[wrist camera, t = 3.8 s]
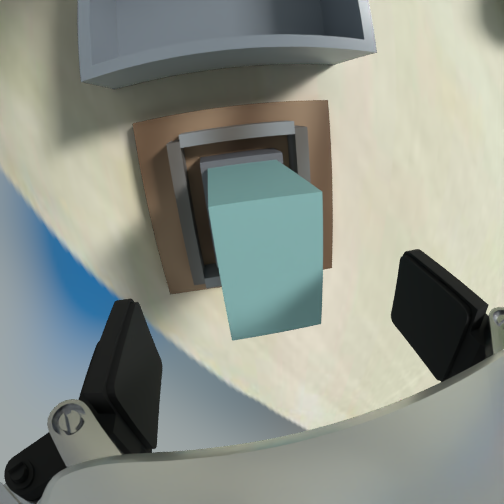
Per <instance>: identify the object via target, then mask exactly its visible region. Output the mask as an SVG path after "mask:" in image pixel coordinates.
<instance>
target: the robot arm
mask: <svg viewBox="0 0 504 504" xmlns="http://www.w3.org/2000/svg"><path fill="white" fill-rule="evenodd" d="M487 308H488V304H487V303H486V302H484V301H483V300H482V299H481V298H480V297H479V296H477V295H476V294H475V293H474V292H473V291H472V290H470V289H469V288H468V287H467V286H466V285H464V284H463V283H462V282H461V281H460V280H458V279H457V278H456V277H455V276H453V275H452V274H451V273H450V272H448V271H447V270H446V269H445V268H443V267H442V266H441V265H439V264H438V263H437V262H435V261H434V260H433V259H432V258H430V257H429V256H428V255H426V254H425V253H424V252H422V251H421V250H419V249H416V250H411V251H406V252H405V253H404V254H403V256H402V257H401V258H400V264H399V271H398V278H397V284H396V290H395V296H394V301H393V307H392V312H391V319H392V322H393V324H394V325H395V326H396V327H397V329H398V330H399V331H400V332H401V334H402V335H403V336H404V337H405V339H406V340H407V341H408V342H409V344H410V345H411V346H412V348H413V349H414V350H415V351H416V353H417V354H418V355H419V357H420V358H421V359H422V361H423V362H424V363H425V365H426V366H427V367H428V369H429V370H430V371H431V373H432V374H433V375H434V377H435V378H436V379H437V380H440V381H441V383H439V384H437V385H435V386H433V387H430V388H428V389H426V390H424V391H422V392H419V393H417V394H415V395H412V396H410V397H408V398H405V399H403V400H400V401H398V402H395V403H393V404H390V405H388V406H385V407H382V408H380V409H377V410H374V411H371V412H368V413H365V414H363V415H360V416H357V417H353V418H350V419H347V420H344V421H341V422H337V423H334V424H331V425H327V426H323V427H320V428H316V429H312V430H308V431H304V432H300V433H296V434H292V435H288V436H283V437H278V438H273V439H268V440H262V441H257V442H252V443H245V444H239V445H232V446H224V447H215V448H207V449H198V450H187V451H173V452H156V453H152V449H155V448H156V446H157V432H158V415H159V401H160V389H161V378H162V362H161V358H160V356H159V354H158V352H157V349H156V347H155V344H154V341H153V339H152V336H151V334H150V331H149V329H148V326H147V323H146V321H145V318H144V315H143V312H142V310H141V307H140V305H139V303H138V302H135V303H134V301H133V300H132V299H125V300H117V301H115V303H114V305H113V308H112V310H111V313H110V315H109V318H108V320H107V323H106V326H105V329H104V331H103V334H102V336H101V339H100V341H99V342H98V343H97V345H96V348H95V351H94V354H93V356H92V359H91V362H90V365H89V368H88V371H87V375H86V377H85V381H84V384H83V387H82V390H81V393H80V397H79V400H75V399H71V400H66V401H63V402H61V403H59V404H58V405H57V406H56V407H54V409H53V410H52V411H51V412H50V415H49V417H48V423H47V425H48V429H49V433H47V434H46V435H44V436H43V437H42V438H40V439H39V440H37V441H36V442H34V443H33V444H31V445H30V446H29V447H27V448H26V449H24V450H23V451H21V452H20V453H18V454H17V455H16V456H14V457H13V458H12V459H11V460H10V461H9V462H8V464H7V465H6V468H5V481H6V483H5V484H2V483H0V504H504V308H503V307H497V308H494V309H492V310H491V311H490V313H489V316H488V315H487V314H486V310H487Z"/></svg>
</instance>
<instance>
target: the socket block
mask: <svg viewBox="0 0 504 504" xmlns="http://www.w3.org/2000/svg"><path fill="white" fill-rule="evenodd" d="M133 130H134V136H135V142H136V148H137V154H138V159H139V165H140V170H141V175H142V180H143V185H144V190H145V195H146V200H147V204H148V209H149V213H150V218H151V222H152V226H153V230H154V235H155V239H156V243H157V247H158V251H159V254H160V258H161V262H162V266H163V270H164V273H165V277H166V280H167V284H168V288H169V291H170V294H176V293H183V292H190V291H196V290H203V289H209V288H216V287H222V285H221V279H220V274H219V268H218V267H217V265H216V260H215V254H214V248H213V243H212V237H211V231H210V225H209V219H208V213H207V207H206V201H205V194H204V188H203V181H202V175H201V168H200V158H201V157H205V156H212V155H219V154H226V153H233V152H241V151H249V150H257V149H267V148H275V149H277V150H279V151H281V152H282V155H283V165H285V166H286V167H288V168H289V169H291V170H292V171H294V172H295V173H297V174H298V175H299V176H301V177H302V178H304V179H305V180H307V181H308V182H309V183H311V184H312V185H314V186H315V187H316V188H318V189H319V190H321V191H322V199H323V269H329V268H332V232H333V205H332V162H331V140H330V123H329V109H328V100H313V101H286V102H270V103H257V104H246V105H237V106H228V107H220V108H213V109H206V110H199V111H193V112H187V113H181V114H176V115H170V116H165V117H160V118H155V119H151V120H146V121H142V122H137V123H133Z"/></svg>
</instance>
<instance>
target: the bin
mask: <svg viewBox="0 0 504 504" xmlns="http://www.w3.org/2000/svg"><path fill="white" fill-rule="evenodd" d="M78 49H79V65H80V76H81V82H84V83H89V84H93V85H98V86H102V87H107V88H111V89H118V88H122V87H125V86H129V85H133V84H137V83H141V82H146V81H150V80H155V79H159V78H164V77H169V76H175V75H180V74H186V73H192V72H199V71H206V70H213V69H222V68H231V67H242V66H255V65H274V64H329V65H335V64H338V63H342V62H345V61H348V60H352V59H355V58H358V57H362V56H366V55H369V54H373V53H377V50H376V42H375V35H374V29H373V22H372V16H371V11H370V5H369V0H78Z"/></svg>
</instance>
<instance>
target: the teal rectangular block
mask: <svg viewBox="0 0 504 504" xmlns="http://www.w3.org/2000/svg"><path fill="white" fill-rule="evenodd" d="M200 168H201V175H202V181H203V188H204V194H205V201H206V207H207V213H208V219H209V225H210V231H211V237H212V243H213V248H214V254H215V260H216V265H217V267H218V268H219V274H220V279H221V285H222V290H223V295H224V301H225V306H226V311H227V316H228V322H229V327H230V332H231V337H232V340H238V339H245V338H251V337H256V336H262V335H268V334H273V333H278V332H284V331H289V330H294V329H299V328H304V327H308V326H313V325H318V324H321V314H322V283H323V199H322V191H321V190H319V189H318V188H316V187H315V186H314V185H312V184H311V183H309V182H308V181H307V180H305V179H304V178H302V177H301V176H299V175H298V174H297V173H295V172H294V171H292V170H291V169H289V168H288V167H286V166H285V165H283V155H282V152H281V151H279V150H277V149H275V148H267V149H257V150H249V151H241V152H233V153H226V154H219V155H212V156H205V157H201V158H200Z"/></svg>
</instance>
